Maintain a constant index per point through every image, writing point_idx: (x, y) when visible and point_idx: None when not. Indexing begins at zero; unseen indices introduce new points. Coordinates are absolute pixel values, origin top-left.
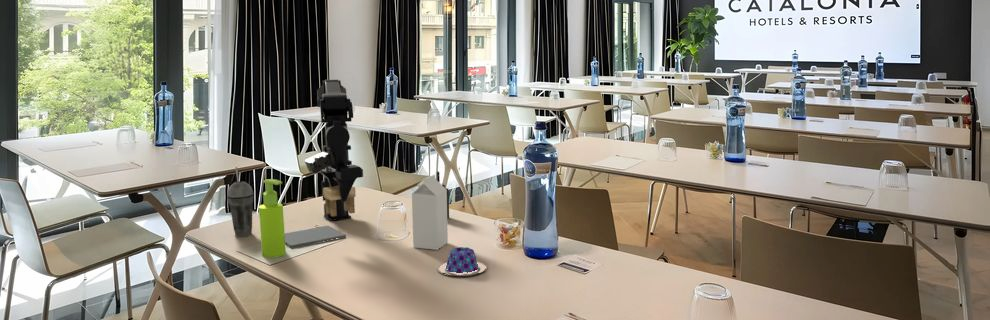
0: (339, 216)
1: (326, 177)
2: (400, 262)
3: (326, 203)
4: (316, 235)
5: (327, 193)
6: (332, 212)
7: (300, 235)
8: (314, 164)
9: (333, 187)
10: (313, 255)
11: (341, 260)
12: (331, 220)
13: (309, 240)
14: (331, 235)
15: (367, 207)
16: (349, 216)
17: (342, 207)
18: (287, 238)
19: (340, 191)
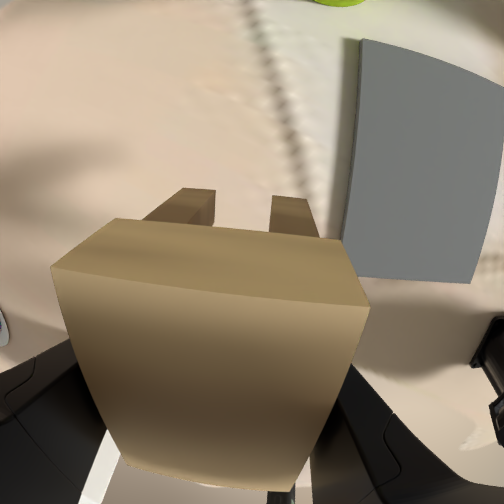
0: (490, 343)
1: (462, 486)
2: (25, 256)
3: (289, 223)
4: (415, 186)
5: (188, 256)
6: (173, 197)
7: (455, 143)
8: None
9: (262, 407)
10: (211, 63)
11: (99, 128)
12: (497, 317)
13: (376, 126)
14: (371, 229)
15: (479, 410)
16: (473, 364)
17: (495, 369)
18: (454, 87)
19: (56, 353)
